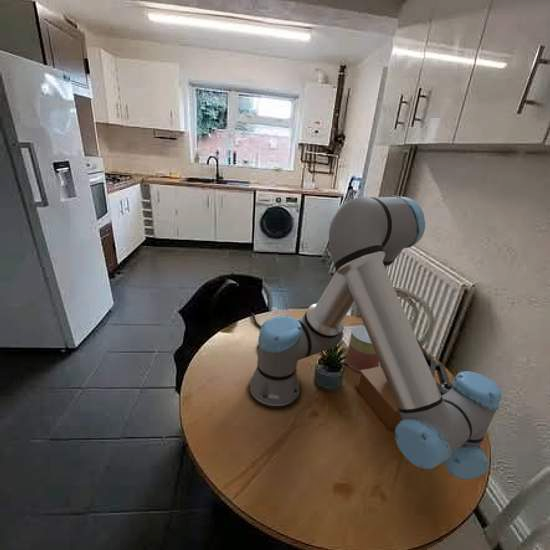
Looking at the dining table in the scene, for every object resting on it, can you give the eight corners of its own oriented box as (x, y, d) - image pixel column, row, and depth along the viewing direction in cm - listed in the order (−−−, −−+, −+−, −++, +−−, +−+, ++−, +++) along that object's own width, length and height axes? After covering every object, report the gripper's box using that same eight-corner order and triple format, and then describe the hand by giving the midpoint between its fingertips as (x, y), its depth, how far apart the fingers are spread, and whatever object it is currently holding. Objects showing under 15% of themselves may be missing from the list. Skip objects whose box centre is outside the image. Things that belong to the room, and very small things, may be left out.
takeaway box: (356, 387, 99) (360, 370, 96) (398, 379, 104) (403, 362, 101) (389, 430, 84) (395, 411, 82) (436, 417, 90) (443, 399, 87)
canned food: (380, 375, 105) (387, 345, 101) (346, 369, 106) (352, 340, 102) (375, 355, 116) (382, 327, 111) (345, 350, 117) (350, 323, 112)
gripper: (383, 413, 73) (362, 355, 94) (477, 422, 72) (436, 361, 93) (389, 388, 70) (367, 334, 91) (488, 398, 70) (443, 341, 90)
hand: (402, 348), depth 92 cm, fingers closed on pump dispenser, 9 cm apart
